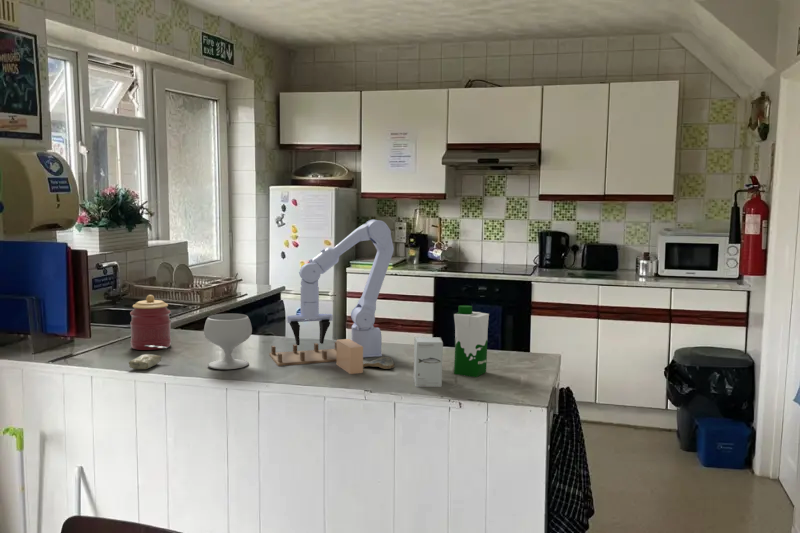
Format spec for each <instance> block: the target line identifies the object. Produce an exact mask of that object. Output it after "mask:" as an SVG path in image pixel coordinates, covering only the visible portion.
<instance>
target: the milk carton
mask: <svg viewBox="0 0 800 533" xmlns="http://www.w3.org/2000/svg"><path fill="white" fill-rule="evenodd" d="M457 308H458V309H457V310H458V312H456V313H453V320H454V330H455V331H454V332H455V333H454V336H455V338H454V362H453V363H454V364H453V365H454V366H453V375H459V376H464V375H465V376H464V377H471V378H478V377H479V376H483V375H484V374H485V372H486V373H487V363H488V361H487V358H488V331H489V330H488V328H489V316H490V313H486V312H481V311H473V306H472V305H469V304H467V305H466V304H463V305H461V304H460V305H458V307H457ZM483 373H484V374H483Z"/></svg>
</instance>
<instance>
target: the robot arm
mask: <svg viewBox="0 0 800 533" xmlns="http://www.w3.org/2000/svg"><path fill="white" fill-rule="evenodd" d="M363 241H364V242H365V241H371V242H372V244H373V245H374V247H375V250H376V254H375V257H374V259H373V263H372V266H371V268H370V271H369V275H368V277H367V280H366V283H365V284H364V288H363V291H362V295H361V297H360V298H359V299H358V300H357V304H356V305H355V307H354V308H353V309H351V312H350V319H351V321H352V322H353V324H352V325H351V339H350V340H352V341H354V342H356V343H357V344H359V345H361V346H363V358H376V357H378V358H379V357H383V354H382V336H383V335H382V331H381V328H380V327H375V326H374V324H375V321H376V315H375V314H376V310H377V300H378V297H379V295H380V292H381V289H382V286H383V283H384V280H385V277H386V274H387V271H388V268H389V266H390V264H391V263H390V262H391V260H392V257H393V254H394V251H395V248H394V247H395V246H394V243H393V238H392V231H391V228H390V227H389V226H388V224H387V223H386V222H385V221H383V220H381V219H380V220H379V219H378V220H377V219H369V220H367V221H366V222H365V223H363V224H362V225H360V226H358V227H357V228H355V229H354V230H353V231H352V232H351V233H349V234H348V235H347V236H346V237H344V238H343V239H342V240H341V241H340V242H338V243H337V244H336V245H335V246H334V247H326V248H322V249H320V253H318V254H317V255H316V256H314V257H313V258H309V259H308V263H304V264H303V265H302V266H301V267H300V269H299V272H298V273H299V277H300V278H301V279H300V314H293V315H285V316H286V319H285V320H286V323H287V324H289V325H290V328H291V330H292V333H293V335H294V336H293V337H294V341H295V344H296V345H297V346H300V343H301V342H300V330H301V329H300V327H301V325H300V324H299V323H301V322H302V323H304V322H319V323H318V324H319V343H320V344H321V345H323V344H324V341H325V337H326V334H327V331H328V329H329V327H330V325H331V322H333V317H334V316H333V314H332V313H320V310H319V309H320V306H319V305H320V304H319V302H320V297H319V296H320V293H319V292H320V290H319V289H320V288H319V280H320V278H321V275H323V274H325V273H326V272H327V271H329V270H330V269H331V268H333V267H334V266H335V265H337V264H338V263H339V261H340V256H342V255H343V254H344V253H345V252H347V251H349V250H350V249H352V247H354V246H355V245H357V244H358V243H360V242H363Z"/></svg>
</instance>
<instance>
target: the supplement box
mask: <svg viewBox="0 0 800 533" xmlns="http://www.w3.org/2000/svg"><path fill="white" fill-rule="evenodd" d="M443 349H444V342H443V340H442V337H441V336H440V337H437V336H436V337H434V336H433V337H431V336H429V337H427V336H426V337H425V336H415V337H414V341H413V350H414V351H413V383H414V386H415V387H416V388H417V387H418V388H420V387H421V388H422V387H423V388H424V387H433V388H434V387H435V388H436V387H440V388H441V387H442V386H443V385H442V384H443V354H444V353H443V352H444V351H443Z"/></svg>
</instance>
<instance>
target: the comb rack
mask: <svg viewBox="0 0 800 533" xmlns="http://www.w3.org/2000/svg"><path fill="white" fill-rule="evenodd" d="M270 347H271V350H270V351H271V352H269V355H268V356H269V357H270V359H271V360H272V361H273V362H274V363H275V364H276V366H278V367H282V366H283V365H285V366H294V365H297V366H298V365H310V364H318V363H319V364H321V363H322V364H323V363H334V362H336V359H337V341H335V342H334V348H327V349H324V348H323V349H319V343H317V342H316V343H315V342H314V343H313V349H312V350H311V349H309V350H308V349H307V350H298V345H296V343H294V344H292V351H278V352H277V351H276V347H277V346H275V345H271V346H270Z"/></svg>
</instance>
